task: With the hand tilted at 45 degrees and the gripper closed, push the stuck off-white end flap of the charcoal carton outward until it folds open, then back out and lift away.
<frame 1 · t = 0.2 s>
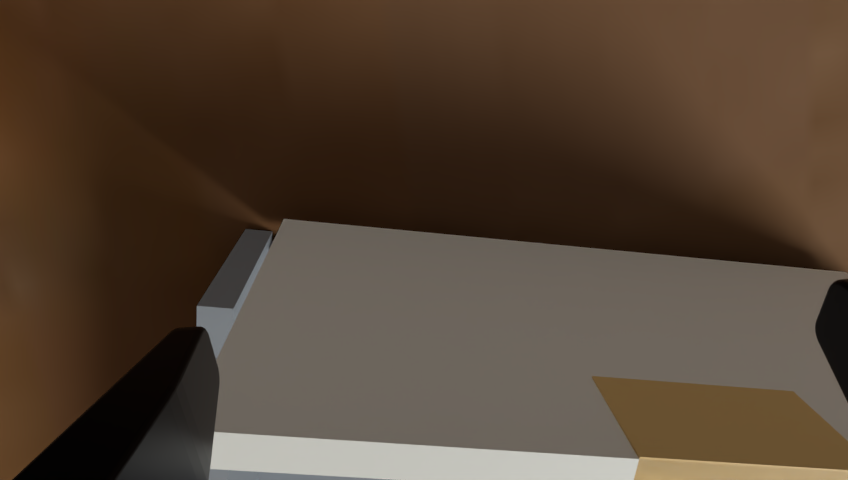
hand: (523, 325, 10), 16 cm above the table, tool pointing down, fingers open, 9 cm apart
flap: (636, 333, 19), point 7 cm above the table, hinge at 0.0°
carton: (534, 421, 29), on the table
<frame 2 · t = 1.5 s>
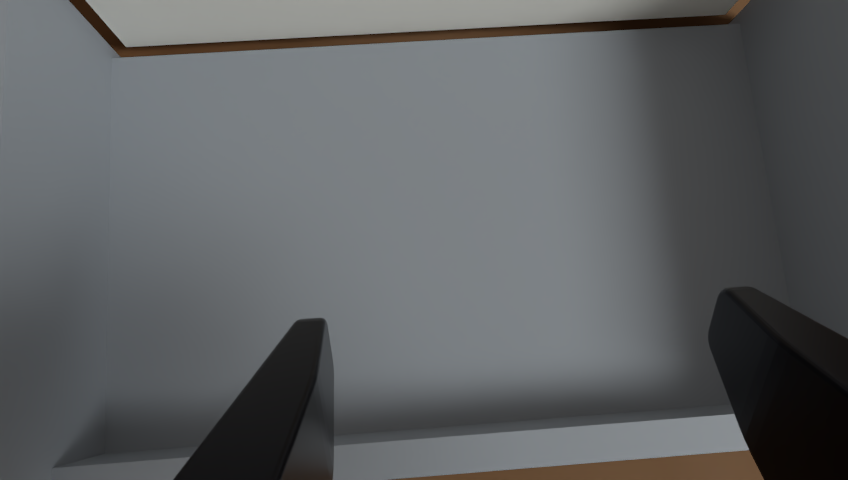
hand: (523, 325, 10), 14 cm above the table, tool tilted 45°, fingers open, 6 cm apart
carton: (446, 235, 24), on the table
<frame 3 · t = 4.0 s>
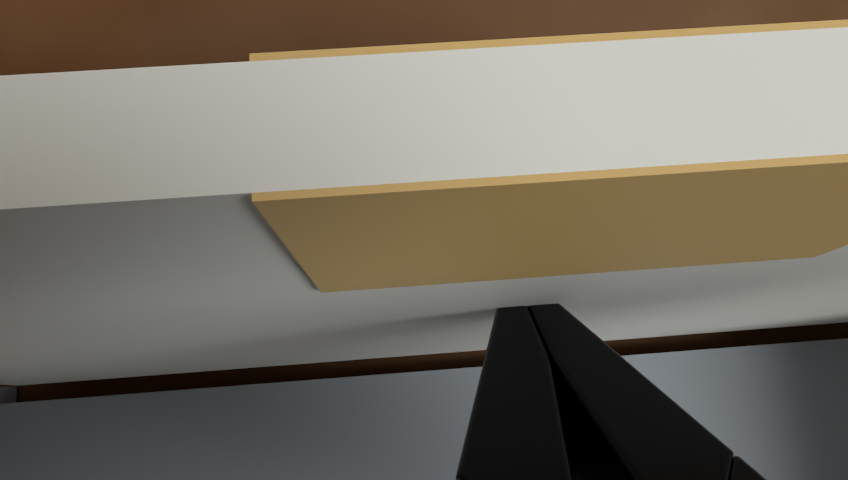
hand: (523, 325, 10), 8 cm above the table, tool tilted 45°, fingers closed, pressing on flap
flap: (513, 289, 10), point 7 cm above the table, hinge at 2.7°, touching gripper
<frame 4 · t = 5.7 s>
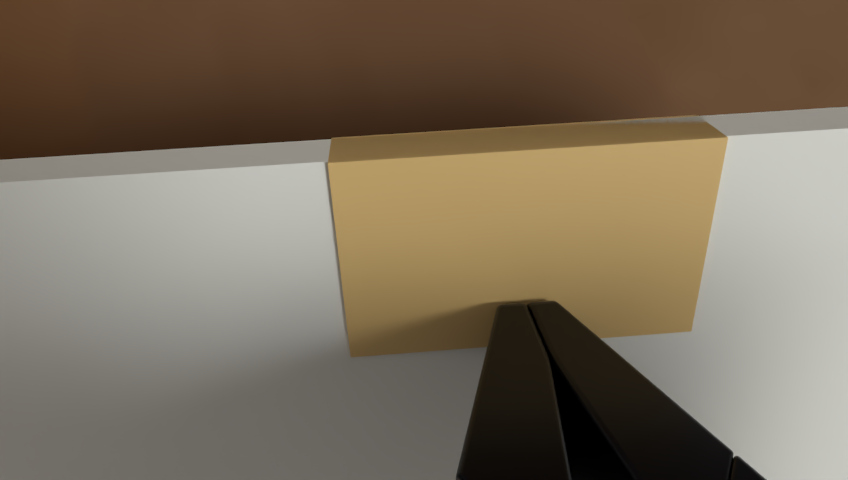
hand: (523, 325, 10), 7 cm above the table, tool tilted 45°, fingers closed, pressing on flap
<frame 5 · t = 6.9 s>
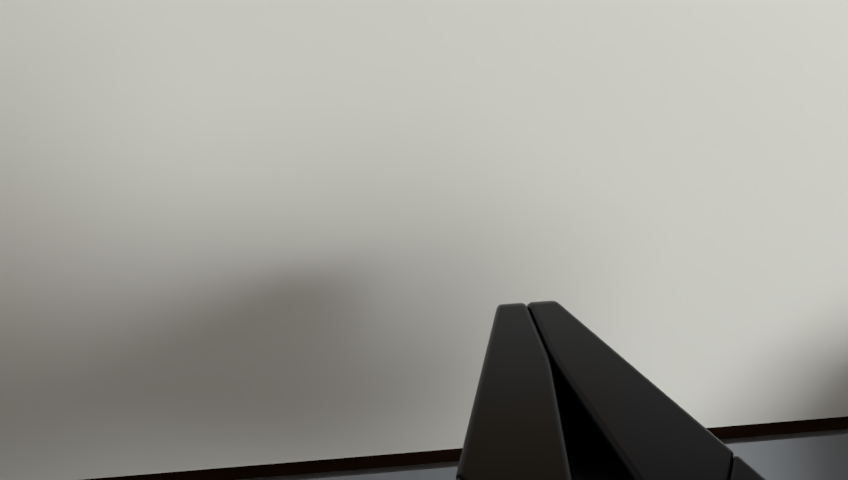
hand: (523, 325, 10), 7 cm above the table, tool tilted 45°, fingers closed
flap: (484, 177, 12), point 5 cm above the table, hinge at 51.7°
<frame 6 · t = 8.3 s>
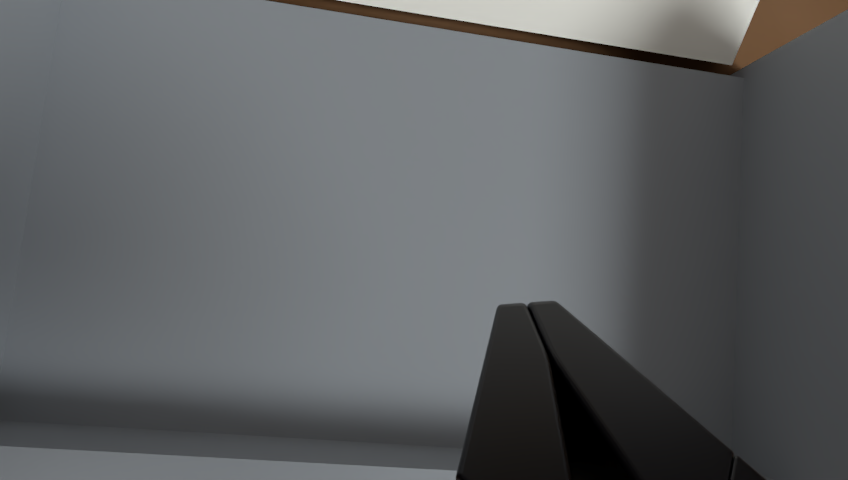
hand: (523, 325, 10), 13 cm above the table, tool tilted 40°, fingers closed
carton: (410, 239, 22), on the table
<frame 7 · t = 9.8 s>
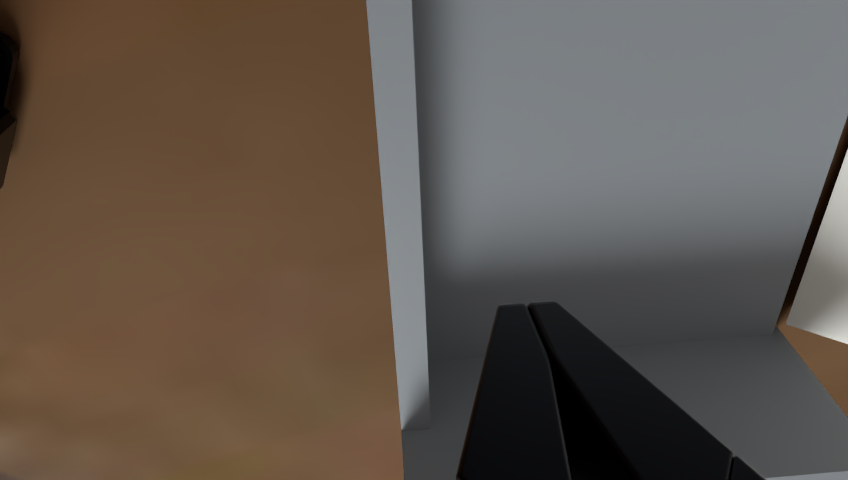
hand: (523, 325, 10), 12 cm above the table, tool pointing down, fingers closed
carton: (625, 45, 20), on the table
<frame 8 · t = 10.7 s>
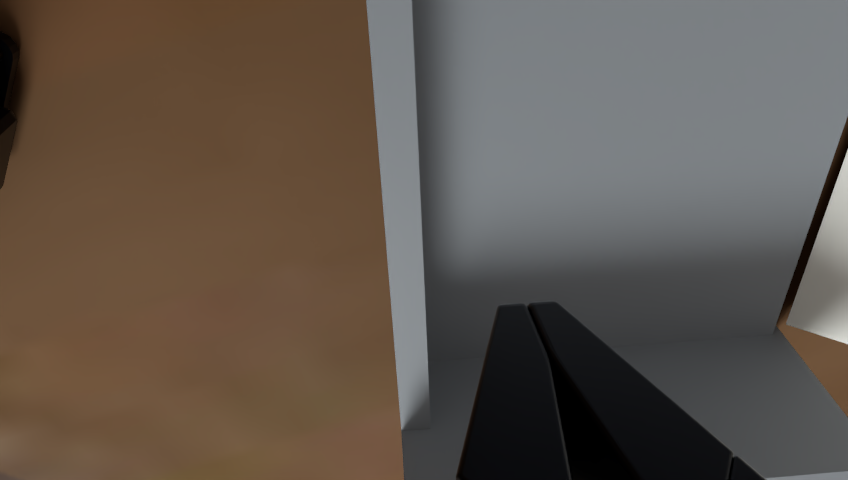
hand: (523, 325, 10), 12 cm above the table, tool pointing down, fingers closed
carton: (625, 45, 20), on the table
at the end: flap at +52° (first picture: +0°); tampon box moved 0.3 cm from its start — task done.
